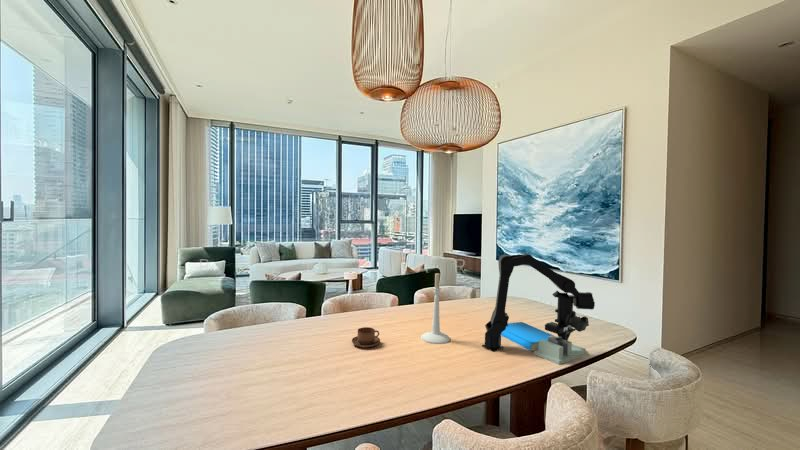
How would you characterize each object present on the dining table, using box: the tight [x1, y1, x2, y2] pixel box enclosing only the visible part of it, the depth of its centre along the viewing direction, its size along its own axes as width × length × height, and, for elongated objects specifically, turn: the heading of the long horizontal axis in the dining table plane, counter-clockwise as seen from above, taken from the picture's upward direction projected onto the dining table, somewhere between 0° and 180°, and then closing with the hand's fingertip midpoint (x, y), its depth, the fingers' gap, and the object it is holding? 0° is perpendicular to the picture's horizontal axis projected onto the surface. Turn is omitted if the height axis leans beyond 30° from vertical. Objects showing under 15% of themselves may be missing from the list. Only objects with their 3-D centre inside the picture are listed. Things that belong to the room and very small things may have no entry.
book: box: [501, 321, 557, 352], centre depth 156 cm, size 17×4×25 cm
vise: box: [533, 339, 589, 365], centre depth 138 cm, size 20×11×6 cm, turn 122°
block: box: [549, 335, 562, 346], centre depth 136 cm, size 3×4×6 cm
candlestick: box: [420, 272, 451, 345], centre depth 152 cm, size 13×13×30 cm
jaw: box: [548, 335, 573, 356], centre depth 138 cm, size 3×9×6 cm, turn 32°
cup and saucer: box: [351, 326, 381, 348], centre depth 144 cm, size 12×12×6 cm
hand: (564, 345), depth 139 cm, fingers closed
